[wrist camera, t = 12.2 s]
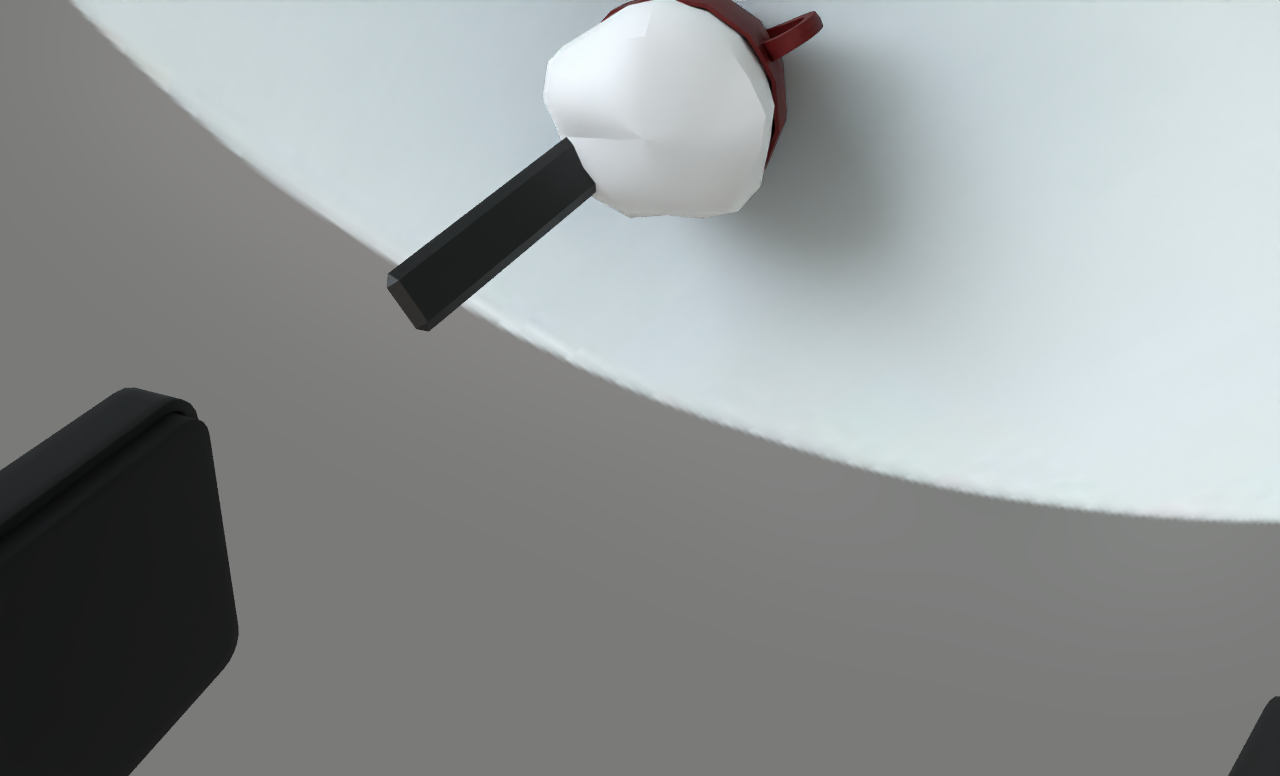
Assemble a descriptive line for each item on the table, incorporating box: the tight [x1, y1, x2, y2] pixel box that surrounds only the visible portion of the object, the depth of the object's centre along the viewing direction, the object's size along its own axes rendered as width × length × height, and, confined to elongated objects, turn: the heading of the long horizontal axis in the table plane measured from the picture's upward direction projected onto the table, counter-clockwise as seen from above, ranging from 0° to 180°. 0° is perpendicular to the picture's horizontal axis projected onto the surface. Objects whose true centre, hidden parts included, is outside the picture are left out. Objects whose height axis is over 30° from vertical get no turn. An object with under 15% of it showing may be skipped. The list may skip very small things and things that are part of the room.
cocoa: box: [387, 0, 823, 331], centre depth 28 cm, size 10×6×12 cm, turn 100°
